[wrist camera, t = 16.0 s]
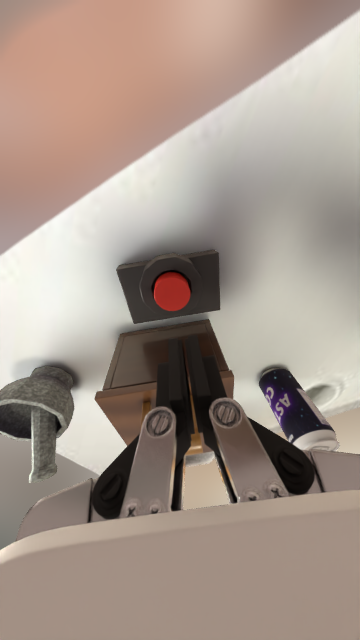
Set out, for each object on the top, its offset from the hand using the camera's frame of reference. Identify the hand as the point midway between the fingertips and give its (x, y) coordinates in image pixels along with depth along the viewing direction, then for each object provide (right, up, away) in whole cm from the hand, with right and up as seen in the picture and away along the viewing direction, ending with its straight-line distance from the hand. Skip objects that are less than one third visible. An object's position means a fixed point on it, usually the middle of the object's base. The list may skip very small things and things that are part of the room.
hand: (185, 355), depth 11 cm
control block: (-1, +6, +12) cm, 14 cm away
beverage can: (+16, -8, +23) cm, 29 cm away
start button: (-1, +6, +9) cm, 10 cm away
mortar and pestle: (-20, -8, +19) cm, 29 cm away
